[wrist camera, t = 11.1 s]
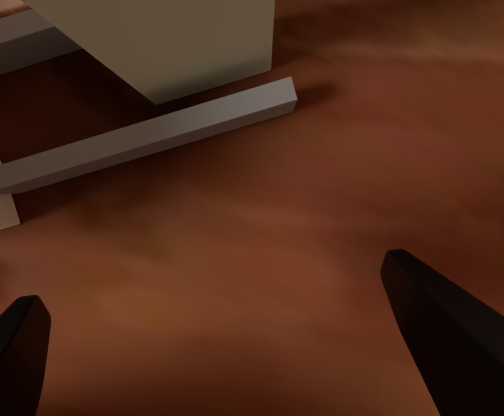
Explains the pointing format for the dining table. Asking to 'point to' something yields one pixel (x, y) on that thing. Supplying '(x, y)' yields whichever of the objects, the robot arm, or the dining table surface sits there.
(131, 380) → the dining table surface
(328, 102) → the dining table surface
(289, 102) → the cabinet
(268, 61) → the rectangular block
